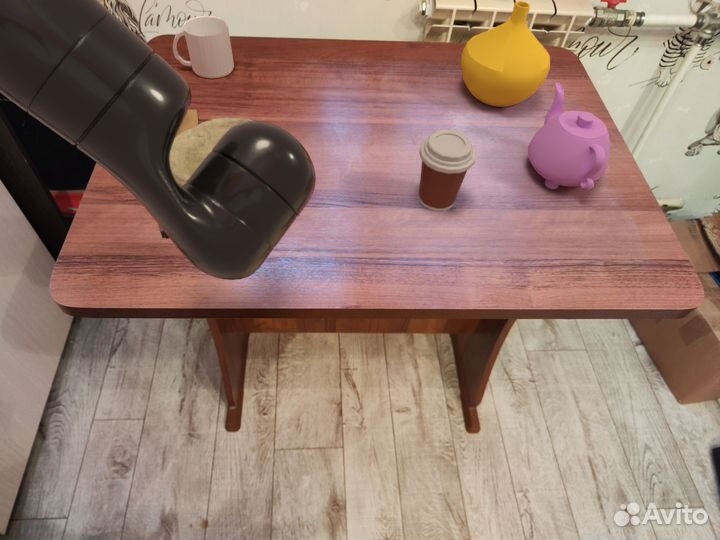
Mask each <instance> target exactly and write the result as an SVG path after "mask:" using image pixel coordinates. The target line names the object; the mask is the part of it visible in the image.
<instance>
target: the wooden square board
mask: <svg viewBox="0 0 720 540" xmlns="http://www.w3.org/2000/svg"><path fill="white" fill-rule="evenodd" d="M199 122H200V121H199V114H198V109H197V108H196V109H188V112H187V114H186V116H185V118H184V120H183V123H182V125H181V127H180V129H179V131H178V133H177V135H176V137H177V136H178V135H180V134H181V133H182V132H184V131H187V130H189V129H192V128H193V127H195V126H197V125H199V124H200V123H199ZM176 137H175V138H176Z"/></svg>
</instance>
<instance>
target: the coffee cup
mask: <svg viewBox="0 0 720 540" xmlns="http://www.w3.org/2000/svg"><path fill="white" fill-rule="evenodd" d="M418 154H419V157H420V160H421V168H420V177H419V189H418V195H417V196H418V200H419V203H420V204H421V205H422V206H423V207H424V208H427V209H428V210H430V211H434V212H445V211H447V210H450V209H451V208H452V207H453V206H454V204H455V202H456V200H457V197H458V194H459V193H460V192H459V191H460V189H461V187H462V184H463V181H464V179H465V177H466V174H467V172H468V171H469V170H470V169H471V168H472V167H473V166H474V165H475V162H476V156H477V153H476V151H475V149H474V146H473V143H472V142H471V140H470V139H469V138H468V137H467V136H466V134H463V133H461V132H459V131H456V130H453V129H452V130H451V129H440V130H437V131H435V132H433V133H432V134H430V135H429V136H428V137H426V139H424V140H423V141H422V142H421V144H420V146H419V151H418Z"/></svg>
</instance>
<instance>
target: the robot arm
mask: <svg viewBox="0 0 720 540" xmlns="http://www.w3.org/2000/svg"><path fill="white" fill-rule="evenodd" d="M0 93H1V95H3V96H4V97H5V98H7V99H8V100H9V101H11V102H12V103H14V104H16V106H18V107H19V108H21V110H23V111H25V112H26V113H28V114H29V115H30V116H32V117H33V118H34V119H36V120H38V121H39V122H40V123H42V125H44V126H46V127H47V128H48V129H50V130H51V131H52V132H54V133H55V134H57V135H58V136H59V137H61V138H62V139H64V140H65V141H67V142H68V143H70V145H72V146H76V149H78V150H79V151H81V152H82V153H83V154H85V155H86V156H88V158H90V159H91V160H92V161H94V162H95V163H96V164H98V165H99V166H100V167H101V168H103V169H104V170H105V171H107V172H108V173H109V174H110V175H111V176H112V177H113V178H114V179H115V180H116V181H117V182H119V183H120V184H121V185H122V186H123V187H124V188H125V189H126V190H127V191H128V192H129V193H130V194H131V195H132V196H133V198H135V199H136V200H137V201H138V203H139V204H140V205H142V207H143V208H144V209H145V210H146V211H147V213H148V214H149V215H150V216H151V217H152V219H154V220H155V222H156V224H157V227H158V229H159V231H160V236H161V238H162V239H165V240H168V239H170V240H171V242H172V243H173V244H174V245H175V247H176V248H177V249H178V250H179V251H180V252H181V254H182V255H183V256H184V257H185V258H186V259H187V260H188V261H189V262H190V263H191V264H192V265H193V266H195V267H196V268H197V269H198V270H200V271H201V272H203V273H204V274H207V275H209V276H211V277H213V278H217V279H220V280H228V281H235V280H242V279H246V278H249V277H251V276H253V275H254V274H256V272H257V271H258V270H259V269H260V268H261V267H262V265H263V264H264V263H265V261H266V260H267V259H268V258H269V256H270V255H271V253H272V252H273V251H274V248H276V246H278V244H279V242H281V240H282V238H283V237H284V236H285V235H286V233H287V232H288V230H289V229H290V228H291V227H292V225H293V224H294V223H295V221H296V220H297V217H300V215H301V213H302V212H303V211H304V209H305V208H306V207H307V205H308V203H309V202H310V200H311V198H312V197H313V194H314V192H315V189H316V182H317V181H316V180H317V177H316V176H317V175H316V168H315V166H314V163H313V160H312V158H311V156H310V154H309V152H308V151H307V149H306V148H305V146H303V144H302V143H301V142H300V141H299V140H298V139H297V138H296V136H293V135H292V134H291V133H290V132H289V131H287V130H286V129H284V128H282V127H280V126H277V125H275V124H272V123H269V122H266V121H258V120H252V121H247V122H242V123H239V124H237V125H235V126H233V127H232V128H231V129H229V130H228V131H227V132H226V133H225V134H224V135H223V137H222V138H221V139H220V140H219V141H218V143H217V144H216V145H215V146H214V148H213V149H212V151H211V152H210V153H209V154H208V155H207V157H206V158H205V159H204V160H203V162H202V163H201V164H200V165H199V167H198V168H197V169H196V170H195V172H194V173H193V174H192V176H191V177H190V178H189V179H188V181H187V182H186V184H184V185H183V186H180V185H179V184H178V183H177V181H176V180H175V178H174V176H173V173H172V170H171V166H170V151H171V148H172V145H173V142H174V139H175V137H176V135H177V133H178V131H179V129H180V127H181V125H182V123H183V120H184V118H185V116H186V114H187V112H188V110H190V107H191V103H192V91H191V88H190V86H189V84H188V82H187V81H186V80H185V78H183V77H182V75H181V74H180V73H179V72H178V71H177V70H176V69H175V68H173V67H172V65H171V64H170V63H168V62H167V61H166V60H165V59H164V58H163V57H162V56H161V55H160V54H158V53H156V52H155V53H154V49H152V48H151V46H149V45H148V44H147V43H146V42H145V41H144V40H143V39H141V38H140V37H139V36H138V35H137V34H136V33H135V32H134V31H132V29H130V28H129V27H128V26H127V25H126V24H125V23H124V22H122V21H121V20H120V19H119V18H118V17H117V16H116V15H115V14H113V13H112V12H111V11H110V10H109V9H108V8H107V7H106V6H105V5H103V4H102V3H101V2H100V1H99V0H0Z"/></svg>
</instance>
